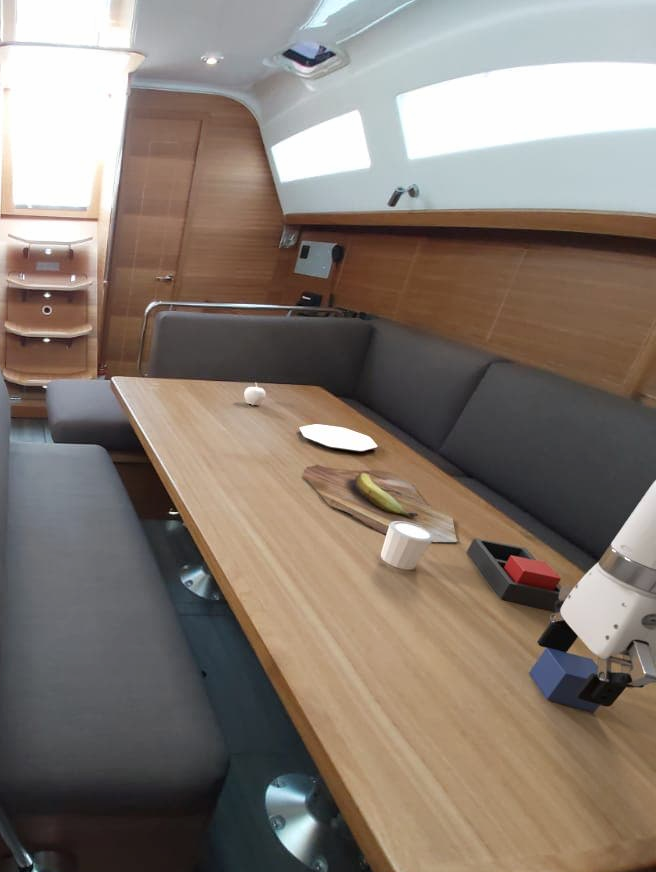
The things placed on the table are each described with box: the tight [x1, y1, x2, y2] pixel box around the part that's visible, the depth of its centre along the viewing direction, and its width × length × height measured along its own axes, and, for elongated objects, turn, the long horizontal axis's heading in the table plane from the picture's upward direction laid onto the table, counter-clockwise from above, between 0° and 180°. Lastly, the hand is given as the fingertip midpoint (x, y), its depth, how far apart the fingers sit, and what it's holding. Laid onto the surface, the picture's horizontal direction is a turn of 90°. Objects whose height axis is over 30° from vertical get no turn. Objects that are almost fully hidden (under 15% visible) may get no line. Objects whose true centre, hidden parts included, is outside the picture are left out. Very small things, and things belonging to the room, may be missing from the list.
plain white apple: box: [243, 382, 267, 406], centre depth 180 cm, size 7×7×8 cm
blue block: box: [528, 647, 601, 713], centre depth 68 cm, size 5×5×5 cm
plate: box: [298, 423, 379, 453], centre depth 151 cm, size 20×20×2 cm
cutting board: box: [302, 464, 458, 543], centre depth 117 cm, size 35×27×4 cm
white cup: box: [380, 521, 434, 571], centre depth 94 cm, size 7×7×7 cm
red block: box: [503, 555, 562, 591], centre depth 87 cm, size 5×5×5 cm
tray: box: [466, 537, 562, 613], centre depth 91 cm, size 8×15×4 cm, turn 158°
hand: (570, 673), depth 67 cm, fingers open, 9 cm apart
